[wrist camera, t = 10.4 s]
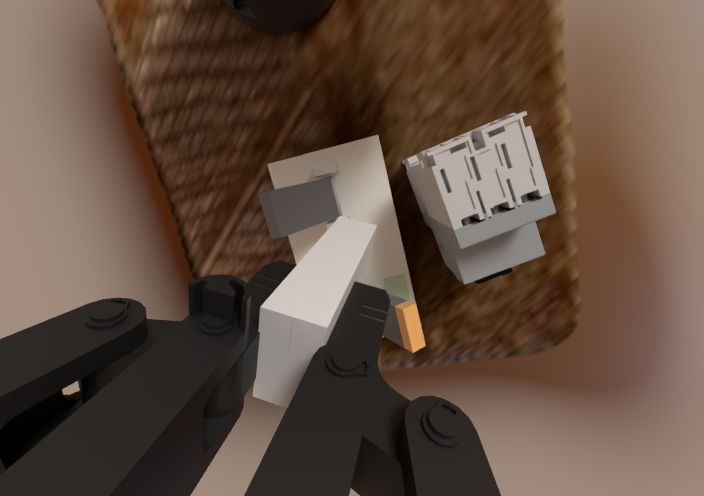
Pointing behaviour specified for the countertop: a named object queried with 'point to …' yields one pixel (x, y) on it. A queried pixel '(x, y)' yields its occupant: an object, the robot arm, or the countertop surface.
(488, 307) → the countertop surface
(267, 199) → the lever
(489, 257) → the circuit breaker
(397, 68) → the countertop surface
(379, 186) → the console
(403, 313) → the lever
